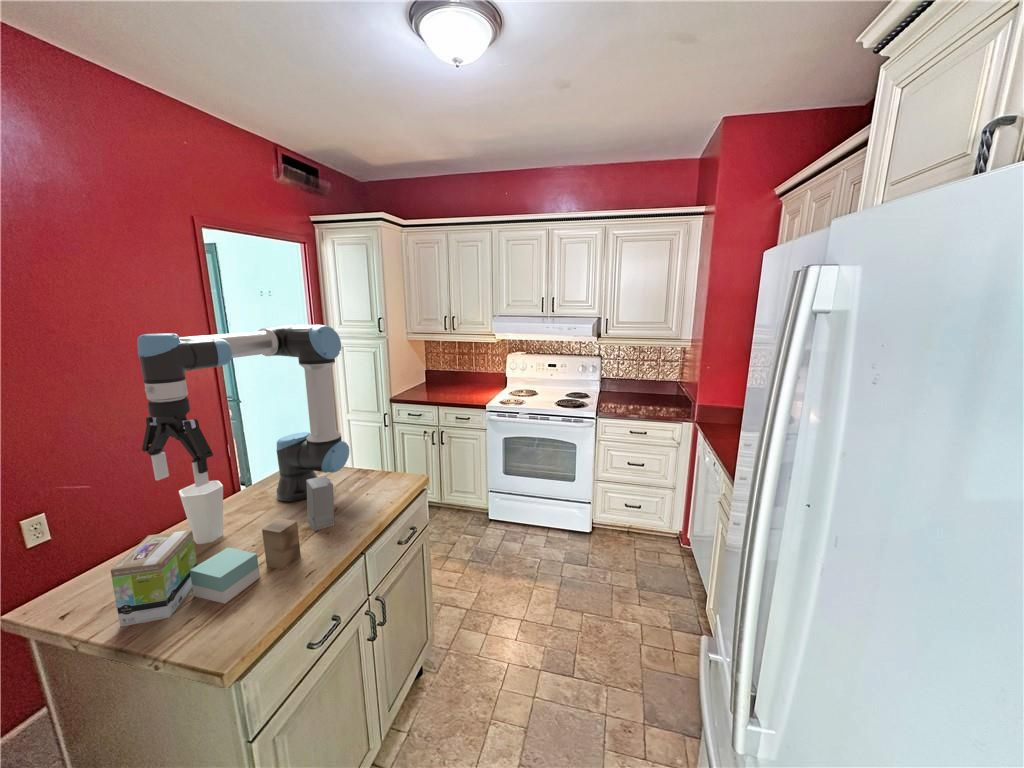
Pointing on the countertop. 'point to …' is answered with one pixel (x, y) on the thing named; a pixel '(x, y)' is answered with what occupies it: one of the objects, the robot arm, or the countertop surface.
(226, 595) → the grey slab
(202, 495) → the cup
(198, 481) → the robot arm
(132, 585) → the tea box
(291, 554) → the walnut block
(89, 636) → the countertop surface
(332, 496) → the skincare box
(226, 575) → the teal slab
